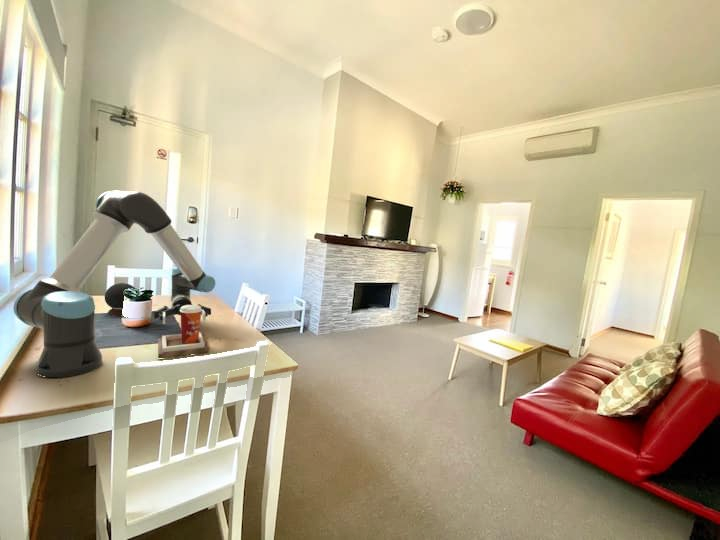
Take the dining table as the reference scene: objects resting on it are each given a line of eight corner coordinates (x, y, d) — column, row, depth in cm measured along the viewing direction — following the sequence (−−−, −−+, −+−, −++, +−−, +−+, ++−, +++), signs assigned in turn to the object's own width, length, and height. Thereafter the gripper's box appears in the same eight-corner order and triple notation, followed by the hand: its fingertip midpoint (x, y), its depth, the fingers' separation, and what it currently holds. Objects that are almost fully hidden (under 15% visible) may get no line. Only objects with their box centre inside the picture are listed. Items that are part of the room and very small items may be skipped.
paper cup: (190, 346, 116) (191, 310, 114) (173, 343, 117) (174, 307, 116) (205, 340, 123) (207, 306, 121) (189, 336, 125) (190, 303, 123)
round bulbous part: (130, 317, 148) (130, 286, 146) (98, 316, 145) (98, 285, 143) (143, 309, 161) (143, 281, 159) (113, 309, 158) (113, 280, 156)
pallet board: (158, 359, 107) (158, 350, 107) (158, 343, 121) (158, 335, 120) (208, 353, 116) (208, 344, 116) (203, 338, 129) (203, 330, 129)
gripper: (212, 311, 144) (219, 325, 126) (147, 315, 130) (145, 331, 113) (213, 295, 143) (220, 307, 125) (147, 298, 129) (145, 311, 112)
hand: (184, 318), depth 119 cm, fingers open, 13 cm apart
